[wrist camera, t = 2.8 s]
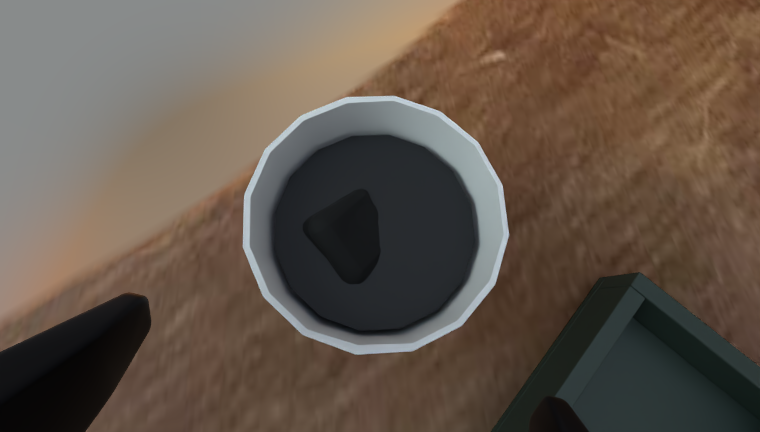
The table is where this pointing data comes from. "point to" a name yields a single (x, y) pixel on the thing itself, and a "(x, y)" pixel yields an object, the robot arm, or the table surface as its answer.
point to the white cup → (375, 224)
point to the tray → (641, 368)
